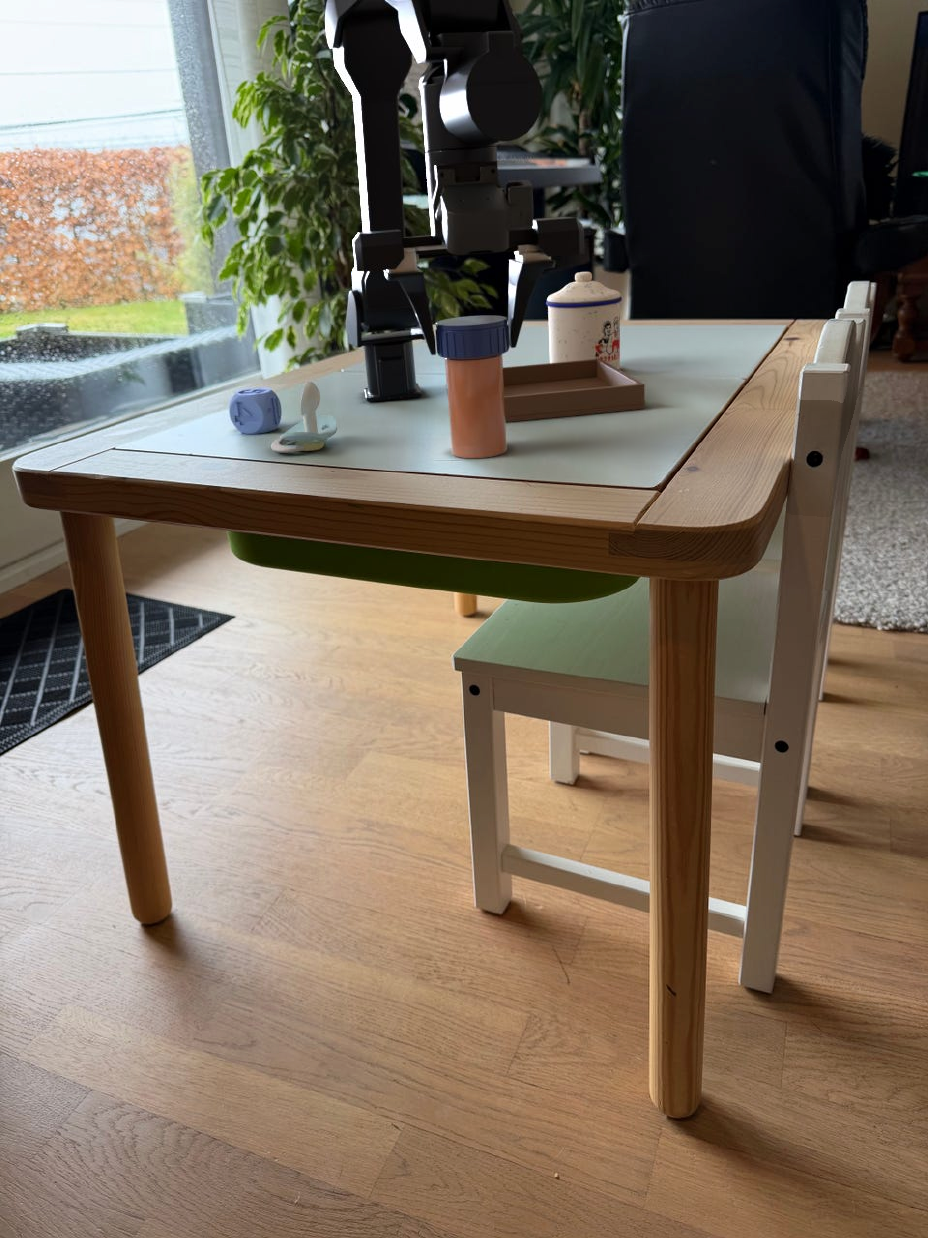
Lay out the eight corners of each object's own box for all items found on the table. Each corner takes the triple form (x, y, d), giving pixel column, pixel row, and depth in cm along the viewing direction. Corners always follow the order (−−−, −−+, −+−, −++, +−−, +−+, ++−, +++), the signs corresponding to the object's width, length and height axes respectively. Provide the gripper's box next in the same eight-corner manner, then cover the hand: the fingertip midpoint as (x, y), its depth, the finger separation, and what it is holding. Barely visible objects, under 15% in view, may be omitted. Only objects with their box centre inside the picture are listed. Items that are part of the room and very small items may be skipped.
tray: (474, 391, 111) (472, 369, 110) (600, 379, 112) (600, 358, 111) (497, 422, 95) (496, 398, 94) (644, 408, 97) (644, 384, 96)
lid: (434, 350, 85) (431, 319, 84) (502, 344, 85) (501, 313, 84) (441, 361, 79) (439, 327, 78) (515, 354, 80) (513, 321, 78)
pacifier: (261, 459, 89) (323, 455, 88) (249, 392, 86) (312, 387, 85) (287, 440, 95) (344, 436, 94) (275, 377, 93) (334, 372, 92)
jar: (448, 447, 88) (439, 325, 83) (502, 441, 88) (495, 320, 84) (455, 460, 83) (446, 332, 79) (511, 455, 84) (505, 327, 79)
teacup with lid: (609, 379, 112) (608, 275, 108) (537, 377, 116) (534, 277, 111) (636, 361, 122) (637, 265, 117) (570, 360, 126) (568, 267, 121)
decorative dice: (266, 434, 98) (260, 395, 96) (232, 434, 99) (226, 395, 97) (284, 425, 101) (278, 387, 100) (251, 424, 102) (245, 387, 101)
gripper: (345, 154, 67) (369, 376, 74) (601, 136, 69) (602, 355, 76) (343, 159, 78) (364, 354, 84) (566, 144, 79) (570, 336, 86)
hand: (473, 350), depth 82 cm, fingers open, 7 cm apart
